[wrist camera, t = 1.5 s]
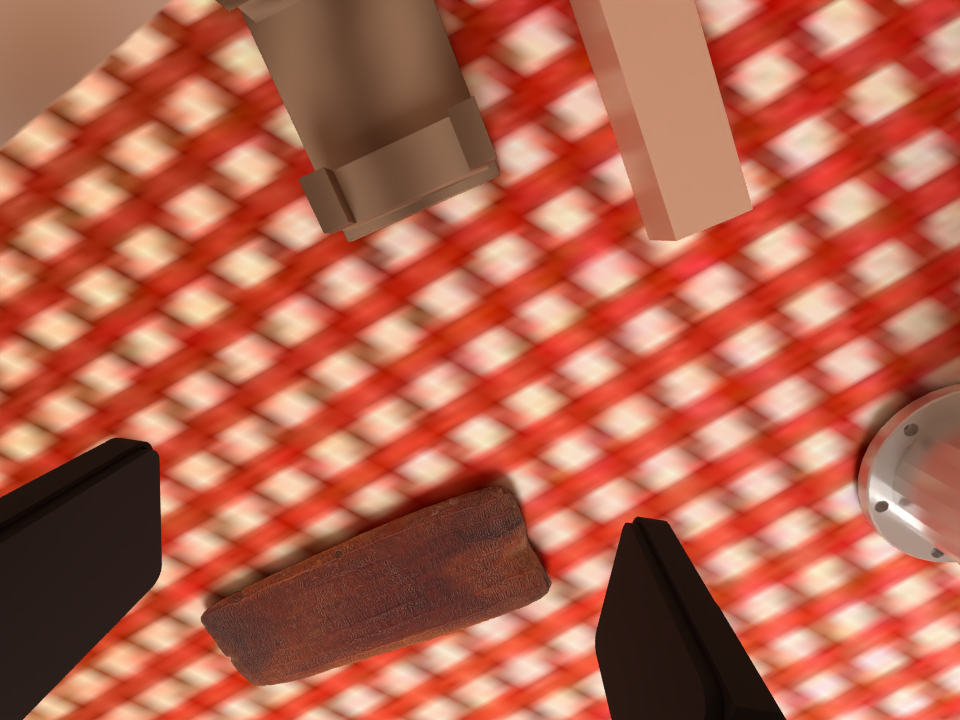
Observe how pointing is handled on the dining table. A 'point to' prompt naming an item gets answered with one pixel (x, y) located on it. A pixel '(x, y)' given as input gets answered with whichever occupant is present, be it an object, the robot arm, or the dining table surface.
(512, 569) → the wooden tablet
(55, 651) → the robot arm
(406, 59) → the rack
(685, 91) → the clay strip
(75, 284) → the dining table surface
